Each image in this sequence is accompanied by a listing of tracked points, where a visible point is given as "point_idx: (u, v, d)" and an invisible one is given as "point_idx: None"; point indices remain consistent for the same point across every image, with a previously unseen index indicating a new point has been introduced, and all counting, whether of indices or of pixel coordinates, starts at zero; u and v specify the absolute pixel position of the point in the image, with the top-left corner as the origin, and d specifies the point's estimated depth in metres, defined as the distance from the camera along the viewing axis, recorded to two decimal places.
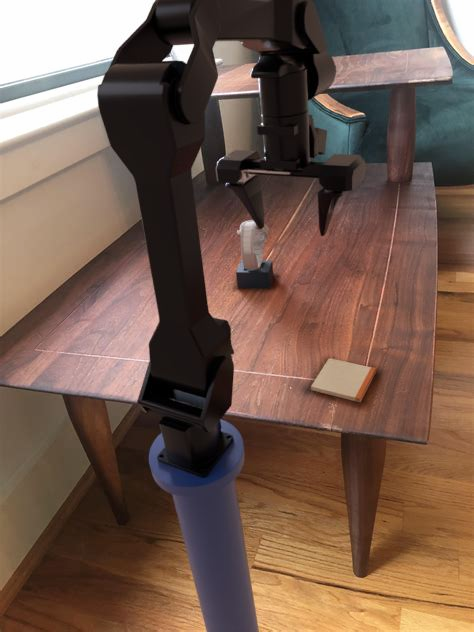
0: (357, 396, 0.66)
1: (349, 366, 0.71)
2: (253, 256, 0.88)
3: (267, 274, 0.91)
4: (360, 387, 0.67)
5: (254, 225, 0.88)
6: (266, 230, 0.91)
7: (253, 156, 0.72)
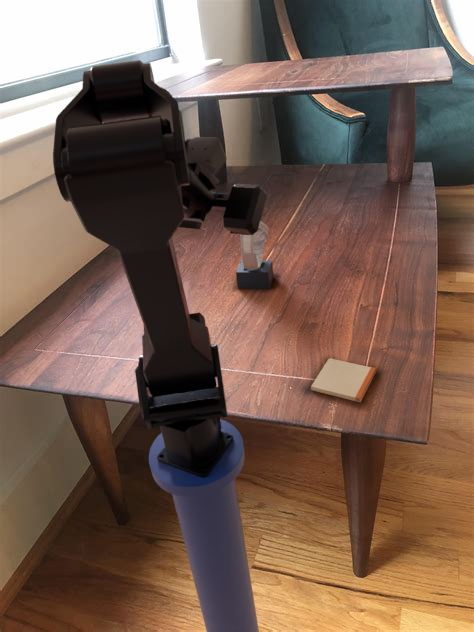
0: (357, 396, 0.66)
1: (349, 366, 0.71)
2: (253, 256, 0.88)
3: (267, 274, 0.91)
4: (360, 387, 0.67)
5: None
6: (266, 230, 0.91)
7: None
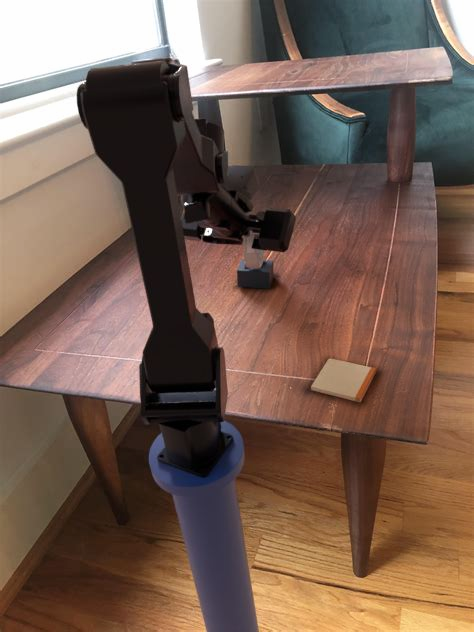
0: (357, 396, 0.66)
1: (349, 366, 0.71)
2: (256, 255, 0.87)
3: (268, 274, 0.91)
4: (360, 387, 0.67)
5: None
6: None
7: None
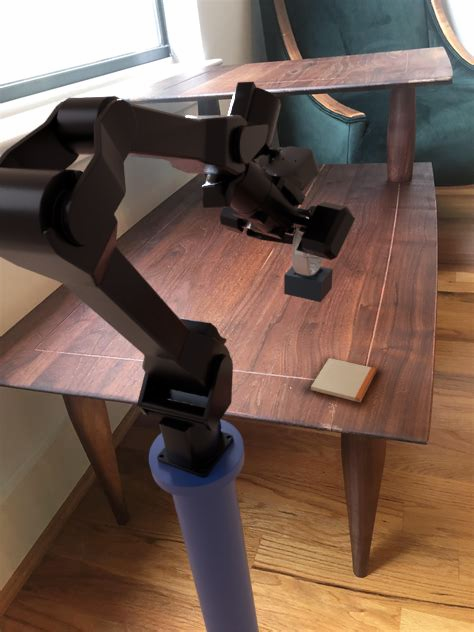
0: (357, 396, 0.66)
1: (349, 366, 0.71)
2: (305, 260, 0.71)
3: (320, 284, 0.74)
4: (360, 387, 0.67)
5: None
6: None
7: None
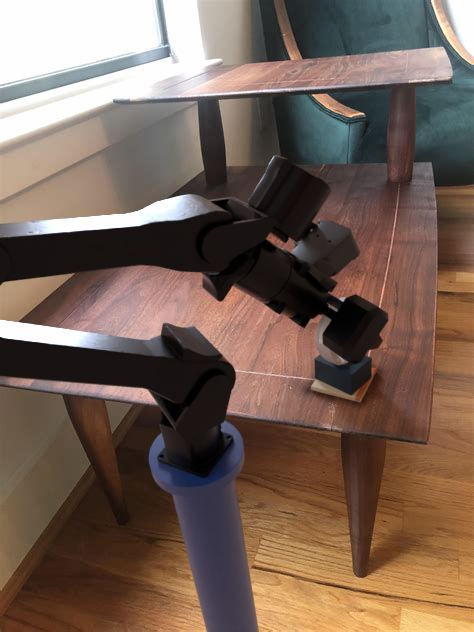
0: (357, 396, 0.66)
1: None
2: (329, 350, 0.63)
3: (350, 377, 0.65)
4: None
5: None
6: None
7: None
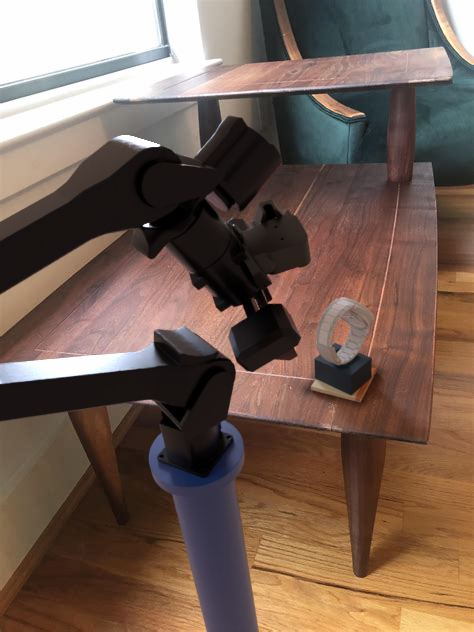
0: (357, 396, 0.66)
1: None
2: (329, 350, 0.63)
3: (350, 377, 0.65)
4: None
5: (344, 309, 0.62)
6: (367, 318, 0.64)
7: None
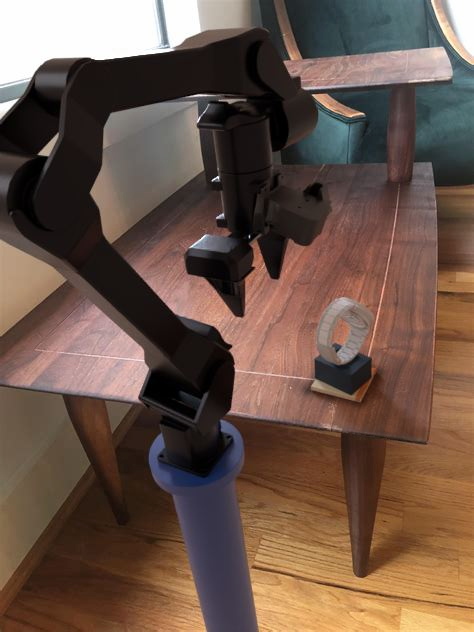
0: (357, 396, 0.66)
1: None
2: (329, 350, 0.63)
3: (350, 377, 0.65)
4: None
5: (344, 309, 0.62)
6: (367, 318, 0.64)
7: None
